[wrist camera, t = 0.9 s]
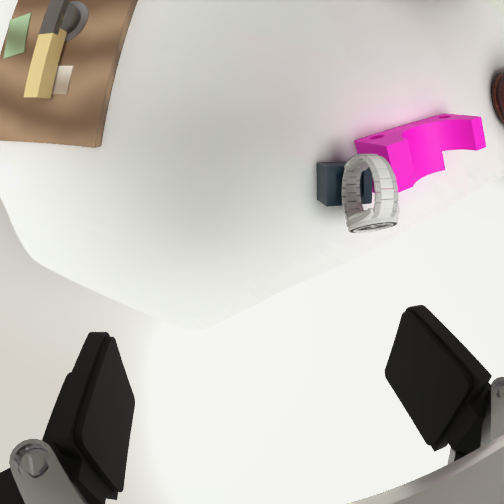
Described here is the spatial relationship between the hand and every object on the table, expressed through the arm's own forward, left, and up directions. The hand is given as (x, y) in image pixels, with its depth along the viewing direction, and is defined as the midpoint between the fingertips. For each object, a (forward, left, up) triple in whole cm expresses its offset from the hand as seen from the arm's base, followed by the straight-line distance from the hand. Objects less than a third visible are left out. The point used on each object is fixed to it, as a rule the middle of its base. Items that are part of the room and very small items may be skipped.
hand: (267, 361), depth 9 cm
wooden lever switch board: (-13, -22, -27) cm, 37 cm away
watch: (-4, +13, -27) cm, 30 cm away
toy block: (-10, +21, -27) cm, 36 cm away
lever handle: (-17, -21, -25) cm, 37 cm away
